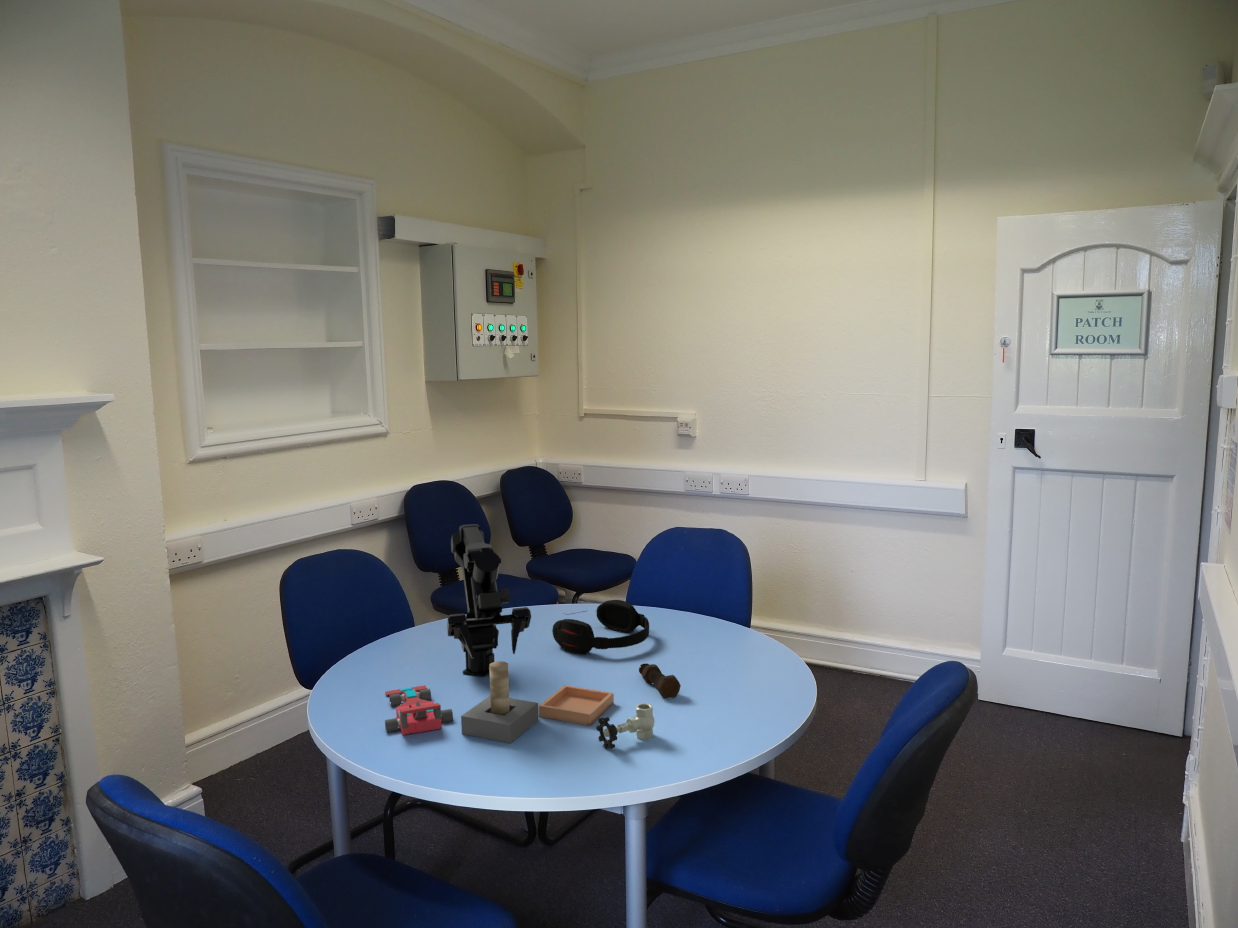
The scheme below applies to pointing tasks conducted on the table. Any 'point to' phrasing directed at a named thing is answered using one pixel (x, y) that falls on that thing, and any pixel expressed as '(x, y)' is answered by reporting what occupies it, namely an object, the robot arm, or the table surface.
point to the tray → (576, 705)
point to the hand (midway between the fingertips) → (493, 655)
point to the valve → (628, 726)
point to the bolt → (660, 680)
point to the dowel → (499, 688)
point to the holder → (500, 720)
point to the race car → (416, 711)
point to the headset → (611, 615)
